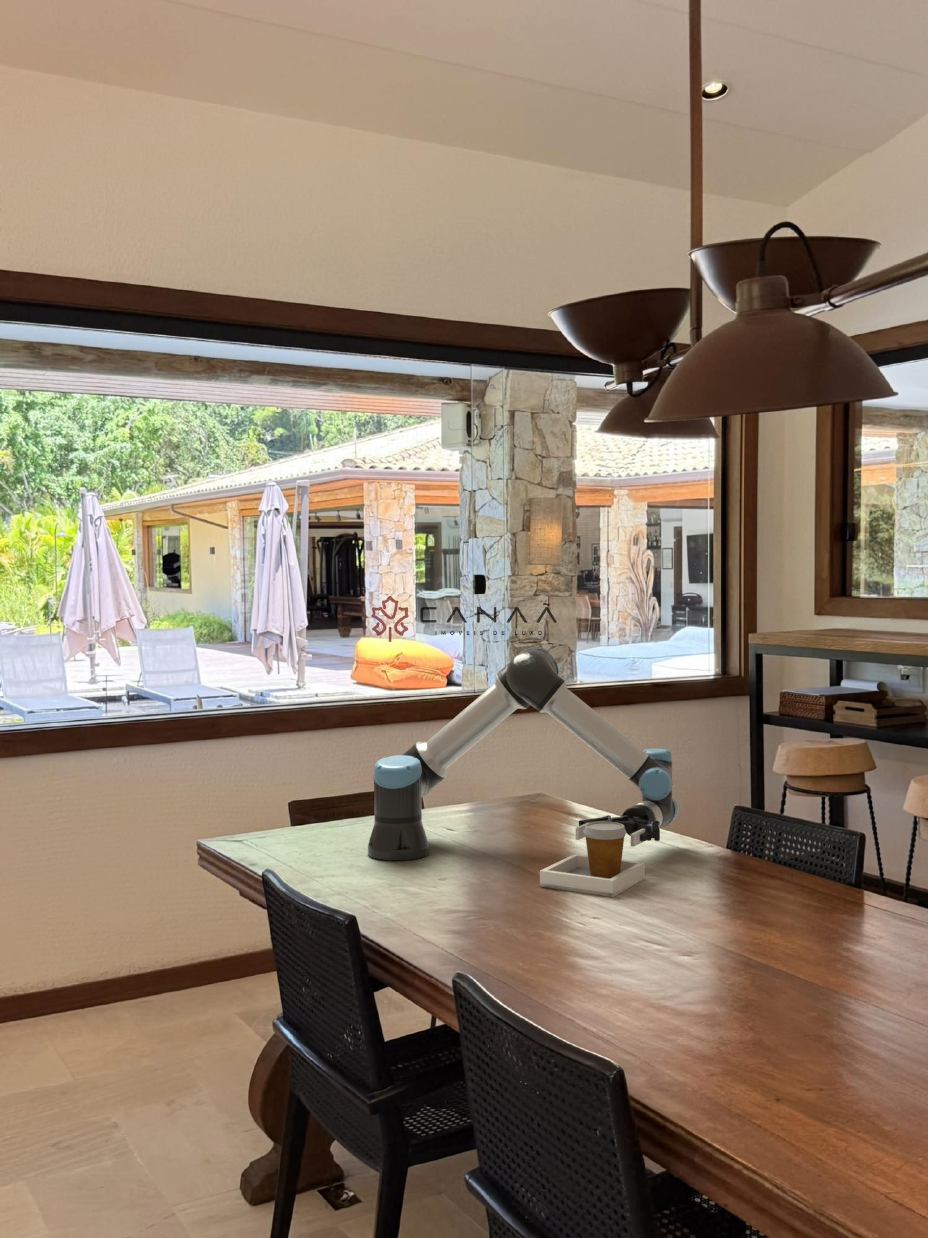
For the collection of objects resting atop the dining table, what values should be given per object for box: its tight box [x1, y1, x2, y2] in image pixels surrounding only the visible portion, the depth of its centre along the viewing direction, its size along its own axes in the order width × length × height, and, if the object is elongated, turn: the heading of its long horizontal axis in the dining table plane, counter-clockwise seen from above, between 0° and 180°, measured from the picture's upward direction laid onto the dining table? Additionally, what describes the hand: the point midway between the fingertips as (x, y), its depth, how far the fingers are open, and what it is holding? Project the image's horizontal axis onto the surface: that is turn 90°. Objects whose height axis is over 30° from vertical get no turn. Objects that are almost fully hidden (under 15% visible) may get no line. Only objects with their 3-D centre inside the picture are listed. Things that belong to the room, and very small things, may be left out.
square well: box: [539, 853, 646, 898], centre depth 257 cm, size 17×17×4 cm
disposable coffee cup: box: [583, 822, 627, 879], centre depth 257 cm, size 10×10×12 cm
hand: (604, 837), depth 261 cm, fingers open, 13 cm apart
